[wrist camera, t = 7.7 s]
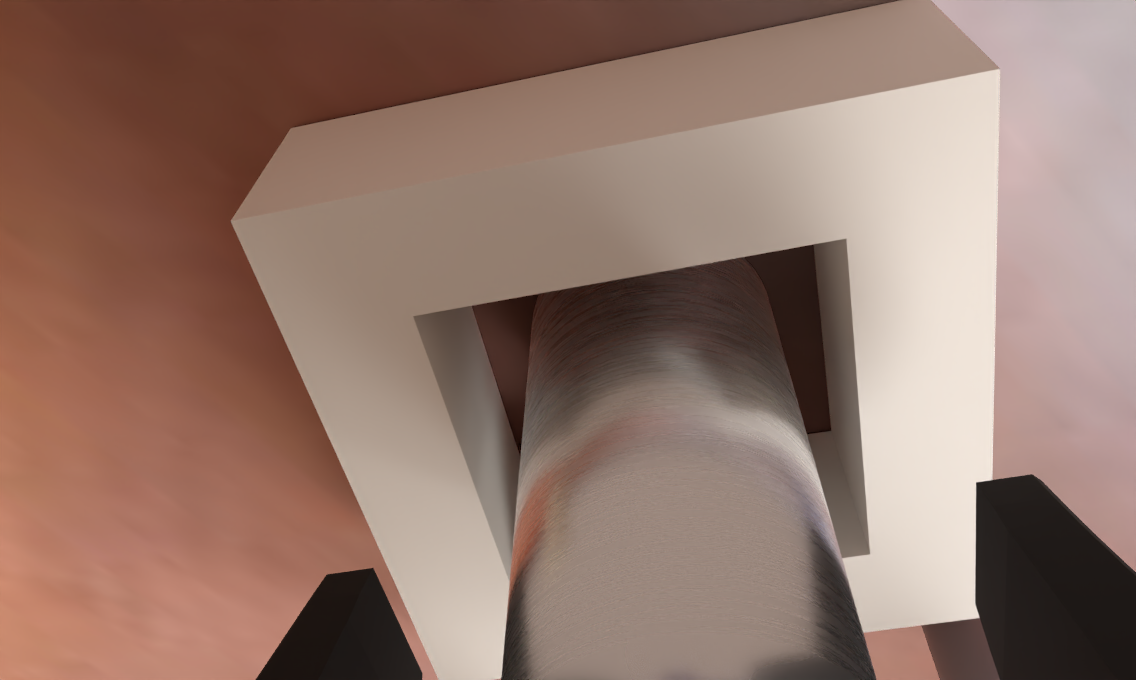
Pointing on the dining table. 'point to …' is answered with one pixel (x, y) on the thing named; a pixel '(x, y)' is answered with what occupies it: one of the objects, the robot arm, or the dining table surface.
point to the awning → (960, 650)
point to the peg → (671, 494)
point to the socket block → (643, 246)
